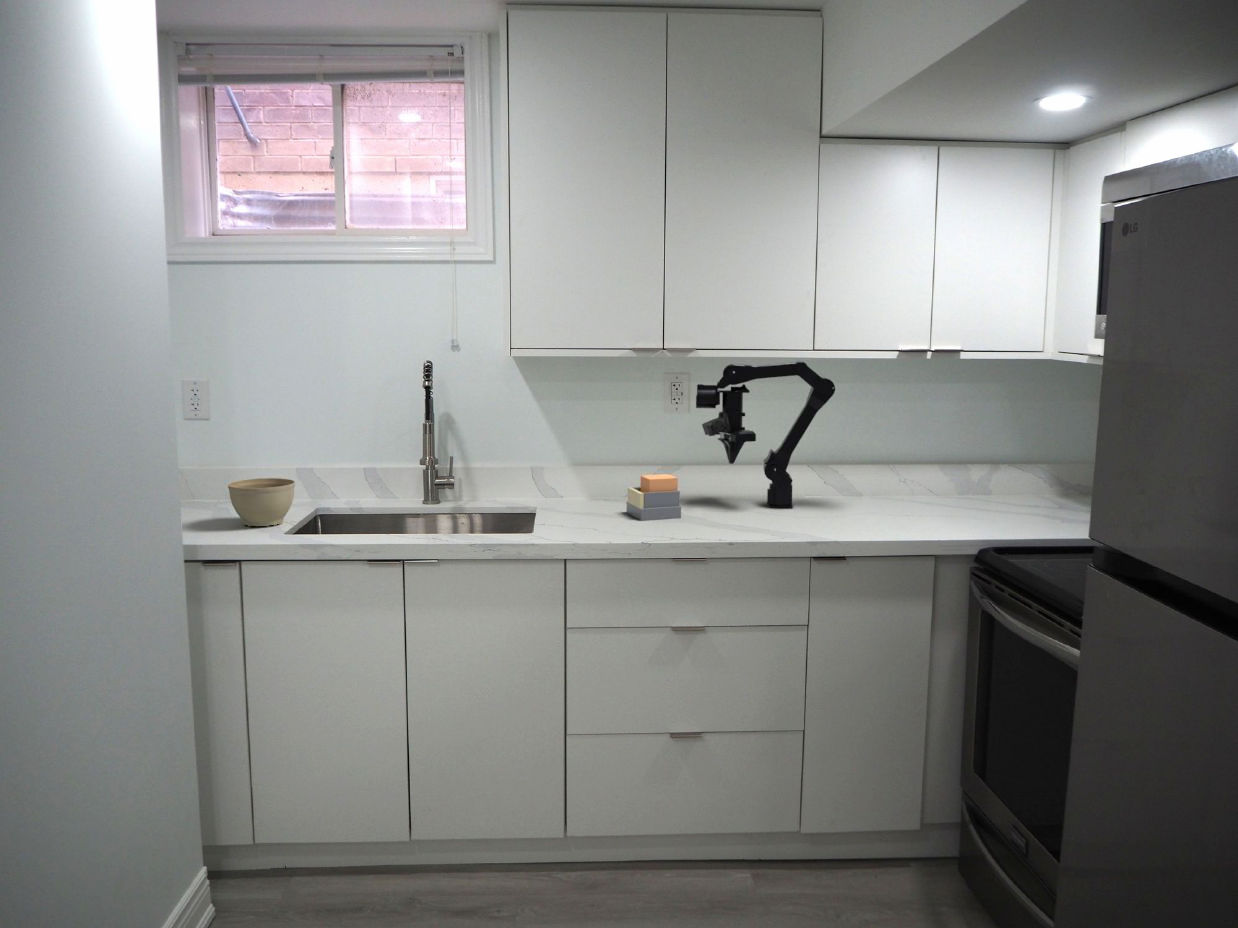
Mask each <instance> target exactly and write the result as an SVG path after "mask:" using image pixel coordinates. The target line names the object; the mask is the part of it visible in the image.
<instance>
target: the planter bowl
mask: <svg viewBox="0 0 1238 928" xmlns="http://www.w3.org/2000/svg"><path fill="white" fill-rule="evenodd" d="M295 486H296V481H295V480H293V479H289V478H282V477H281V478H280V477H278V478H277V477H275V478H274V477H264V478H263V477H262V478H260V477H259V478H258V477H257V478H250V479H249V478H248V479H247V478H246V479H242V480H235V481H231V482H229V483H228V484H227V488H228V491H229V492H228V493H229V498H230V501H231V504H232V507H233V508H234V511H235V512H236V514H237V515H238V517H239V518H240V519H241V520H242V524H243V525H244V526H245V525H248V526H247V527H250V526H267V525H274V526H278V525H277V524H279V525H281V524H283V522H284V518H285V517H286V516H287V514H288V512H289V511H290V509H291V507H292V504H293V501H294V497H295ZM267 527H268V526H267Z"/></svg>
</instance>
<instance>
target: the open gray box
mask: <svg viewBox="0 0 1238 928" xmlns="http://www.w3.org/2000/svg"><path fill="white" fill-rule="evenodd" d="M680 498H681V497H680V490H678V491H665V492H648V493H642V492H641V486H637V487H635V486H634V487H627V501H626V513H627V514H628V515H631V516H632V517H634V518H637V519H638V520H640V521H642V522H643V521H654V520H655V521H656V520H668V519H669V520H670V519H681V518H682V506H681V505H680Z"/></svg>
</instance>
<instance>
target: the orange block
mask: <svg viewBox="0 0 1238 928" xmlns="http://www.w3.org/2000/svg"><path fill="white" fill-rule="evenodd" d="M678 482H679V479H678V476H677V477H676V476H674V475H671V474H669V473H664V474H644V475H643V474H642V475H640V487H641V492H642V493H648V492H665V491H679V489H678V488H679V487H678V485H679V483H678Z"/></svg>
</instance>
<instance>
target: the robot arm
mask: <svg viewBox="0 0 1238 928" xmlns="http://www.w3.org/2000/svg"><path fill="white" fill-rule="evenodd" d="M722 370H723V372H722V377H721V379H719V380H718V381H717V383H716V384H702V383H698V384H696V396H695V408H696V409H716V408H717V406H720V404H721V407H722V408H721V411H719V413H718V417H716V418H713V419H711V420H708V421H705V422H704V423H702V424H701V426H702V429H703V433H704V436H708V437H714V436H719V437H717V440H718V441H719V442H721V444H722V445H723V446H724V451H725V453H726V458H727V461H728V464H730V465H734V463H735V461H736V460H737V457H738V455H739V453H740V452H741V450H742V448H743V446H744V444H745V443H748V442H751V443H752V442H756V441H757V434H756V433H755V431H754V430H750V429H746V427H745V426H743V417H746V412H744V411H743V404H744V401H743V399H744V394H749V393H750V392H751V391H750V389H748V388H747V386H746V384H745V383H747V382H751V381H754V380H759V379H771V378H781V377H793V376H795V377H796V376H798V377H800V379H802V380H803V381H804V382H805V383H807V385H809V386H810V390H809V392H808V395H807V398H806V401H805V404H804V406H803V408H802V409H801V410H800V412H799V414H798V416H797V417H796V419H795V420H794V422H793V424H792V425H791V427H790V429H789V430H788V432H787V434H786V435H785V437H784V439H783V440H782V442H781V444H780V445H779V447H777V448H776V450H775V451H774V450H773V449H772V448H770V450H769V452H768V453H767V456H766V457H765V459H763V471H764V476H765V477H766V479H768V480H770V482H771V483H769V487H768V488H767V490H766V491H767V492H766V494H767V495H766V503H767V505H768V507H769V508H776V509H777V508H780V509H781V508H782V509H783V508H785V509H787V508H788V509H793V507H794V506H793V479H792V476H791V474H790V473H789V472H788V471H787V469H788V467H789V463H790V459H791V457H792V454H793V452H794V451H795V449H796V448H797V446H798V444H799V443H800V441H801V440H802V438H803V437H804V434H805V433H806V432H807V429H808V428H809V426H810V425H811V423H812V421H813V420H814V418H815V417H816V415H817V413H818V412H819V411H820V410H821V409H822V408H823V406H825V405H826V404H827V403H828V401H830V399H831V398H832V397H833V396H834V394H835V392H836V387H835V386H836V385H835V384H834V382H833V381H832V380H831V379H830V378H827V377H824V376H823V377H822V376H820V375H819V374H818V373H817V372H815V371H814V370H813V369H812V368H811V367H810V366H808V364H807V363H806V362H805V361H802V360H798V361H797V360H796V361H794V362H783V363H782V362H781V363H772V364H770V363H769V364H760V365H752V364H751V365H750V364H743V363H729V364H727V365H726V366H725V367H724V369H722ZM740 384H742V385H741V386H736V385H740ZM730 385H731V386H730ZM728 386H730V389H726V388H727V387H728ZM721 393H722V395H721ZM721 397H722V400H721ZM721 401H722V403H721Z"/></svg>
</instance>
